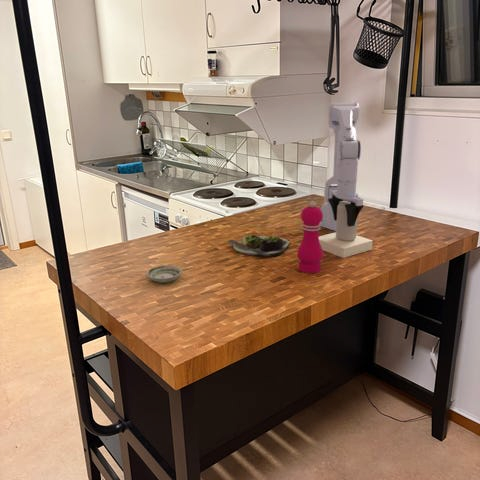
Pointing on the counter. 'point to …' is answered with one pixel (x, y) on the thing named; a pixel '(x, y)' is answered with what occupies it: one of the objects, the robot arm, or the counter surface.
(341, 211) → the beverage can
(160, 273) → the saucer
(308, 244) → the pepper mill
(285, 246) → the salad plate
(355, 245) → the block
